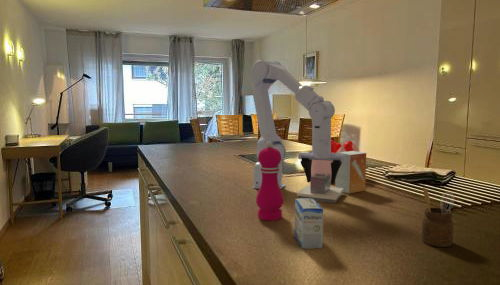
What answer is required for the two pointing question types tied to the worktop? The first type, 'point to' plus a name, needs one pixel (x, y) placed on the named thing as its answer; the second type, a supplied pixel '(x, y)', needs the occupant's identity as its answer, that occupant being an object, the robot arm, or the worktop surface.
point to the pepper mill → (269, 185)
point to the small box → (352, 172)
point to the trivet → (328, 197)
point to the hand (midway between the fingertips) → (320, 182)
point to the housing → (320, 183)
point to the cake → (325, 166)
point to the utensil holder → (437, 224)
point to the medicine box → (308, 223)
